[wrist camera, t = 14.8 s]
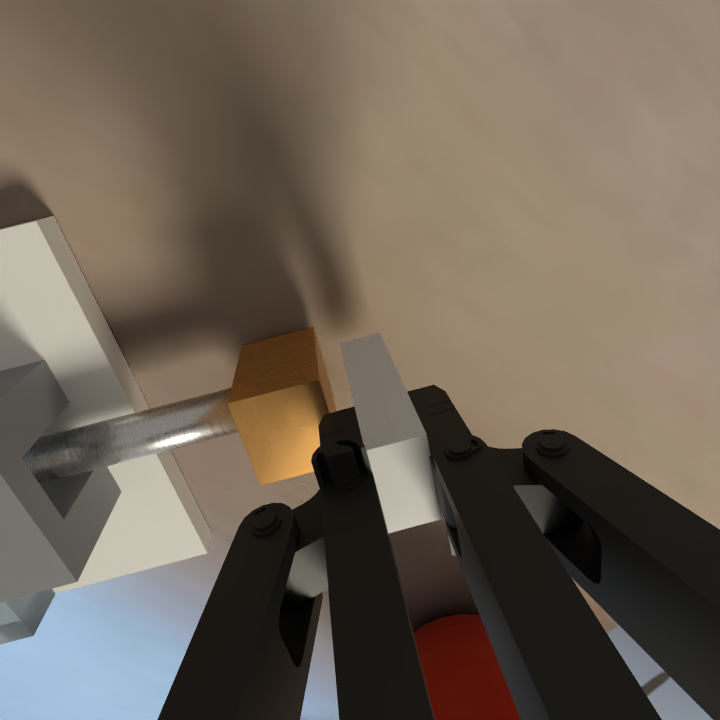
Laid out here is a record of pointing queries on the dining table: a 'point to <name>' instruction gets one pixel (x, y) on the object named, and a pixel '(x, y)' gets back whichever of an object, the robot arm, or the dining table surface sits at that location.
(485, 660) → the fruit
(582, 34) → the dining table surface
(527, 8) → the dining table surface
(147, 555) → the dock
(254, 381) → the lock pin
